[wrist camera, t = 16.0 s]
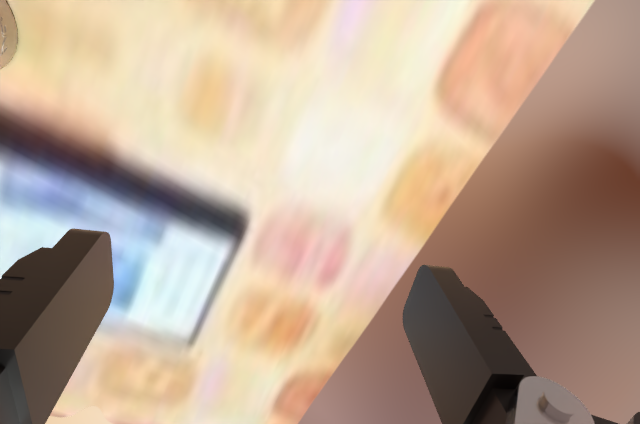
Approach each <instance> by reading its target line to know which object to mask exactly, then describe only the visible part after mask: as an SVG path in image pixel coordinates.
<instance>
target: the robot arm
mask: <svg viewBox="0 0 640 424" xmlns="http://www.w3.org/2000/svg"><path fill="white" fill-rule="evenodd" d="M17 43H18V33H17V26H16V23H15V19H14V16H13V14H12V12H11V10H10V7H9V5H8V4H7V2H6V1H5V0H0V69H1V68H3V67H4V66H6V65H7V64H8V63H9V62H10V61H11V59H12V58H13V56H14V54H15V52H16V48H17ZM113 288H114V280H113V265H112V251H111V239H110V235H109V234H108V233H107V232H101V231H91V230H81V229H70V230H69V231H68V232H67V233H66V234H65V235H64V236H63V237H62V238H61V239H60V240H59V242H58V243H57V244H56V245H55V246H54V247H53V248H43V247H42V248H40V249H38V250H36V251H34V252H32V253H30V254H28V255H27V256H25V257H23V258H21V259H19V260H18V261H17V262H15V263H14V264H13V265H12V266H11V267H10V268H9V269H8V270H7V271H6V272H5V273H4V274H3V275H2V278H1V279H0V424H45V423H46V421H47V419H48V417H49V416H50V414H51V412H52V410H53V408H54V406H55V405H56V403H57V401H58V399H59V397H60V396H61V394H62V392H63V390H64V388H65V386H66V385H67V383H68V381H69V379H70V377H71V376H72V374H73V372H74V370H75V368H76V366H77V365H78V363H79V361H80V359H81V357H82V356H83V354H84V352H85V350H86V348H87V346H88V345H89V343H90V341H91V339H92V337H93V336H94V334H95V332H96V330H97V328H98V327H99V325H100V323H101V321H102V319H103V317H104V316H105V314H106V312H107V310H108V308H109V306H110V303H111V299H112V295H113ZM493 316H494V315H493V314H492V312H491V311H490V309H489V308H488V307H487V305H486V304H485V302H484V301H483V300H482V299H481V298H480V297H478V296H477V295H476V294H475V293H474V292H473V291H471V290H470V289H469V288H468V287H464V285H463V284H462V282H461V281H460V279H459V278H458V277H457V275H456V274H455V272H454V271H453V270H452V269H451V268H449V267H439V266H430V265H422V266H421V267H420V268H419V270H418V272H417V275H416V278H415V280H414V283H413V286H412V288H411V291H410V293H409V296H408V299H407V301H406V304H405V307H404V310H403V326H404V330H405V332H406V335H407V337H408V340H409V342H410V345H411V347H412V350H413V352H414V355H415V357H416V360H417V362H418V365H419V367H420V370H421V372H422V375H423V377H424V379H425V382H426V384H427V387H428V389H429V392H430V394H431V397H432V399H433V402H434V404H435V407H436V409H437V412H438V414H439V417H440V419H441V422H442V424H618V423H615V422H612V421H609V420H606V419H602V418H599V417H596V416H593V415H591V414H590V412H589V411H588V410H587V408H586V407H585V405H584V404H583V403H582V402H581V401H580V400H579V399H578V398H577V397H576V396H575V395H574V394H572V393H571V392H570V391H569V390H567V389H566V388H564V387H563V386H561V385H559V384H558V383H556V382H554V381H551V380H549V379H546V378H542V377H539V376H536V374H535V373H534V371H533V370H532V368H531V367H530V366H529V364H528V363H527V361H526V360H525V359H524V357H523V356H522V354H521V353H520V352H519V350H518V349H517V348H516V346H515V345H514V344H513V342H512V340H511V339H510V337H509V336H508V335H507V333H506V332H505V331H503V330H502V326H501V325H500V323H499V322H498V321H497V319H496V318H494V317H493ZM627 424H640V412H638V413H636V414H635V415H634V416H633V417H632V419H631V420H630V421H629V422H628V423H627Z"/></svg>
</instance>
